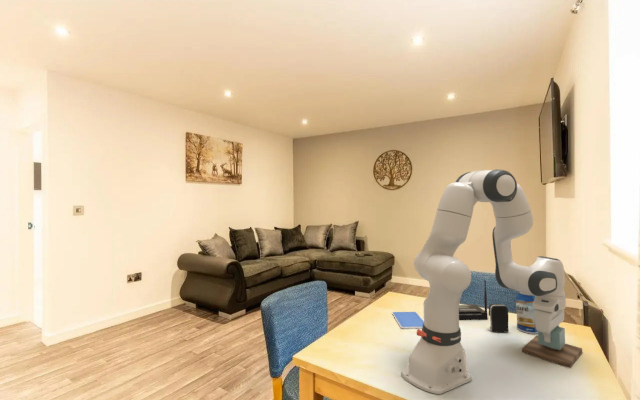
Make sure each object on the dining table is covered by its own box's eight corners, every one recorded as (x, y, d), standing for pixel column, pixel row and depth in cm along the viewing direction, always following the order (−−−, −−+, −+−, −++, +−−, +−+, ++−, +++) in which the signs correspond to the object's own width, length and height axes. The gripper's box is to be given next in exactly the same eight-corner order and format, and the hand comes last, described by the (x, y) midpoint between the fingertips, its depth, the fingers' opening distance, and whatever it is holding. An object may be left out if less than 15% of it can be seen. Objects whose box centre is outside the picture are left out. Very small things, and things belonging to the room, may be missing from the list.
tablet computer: (391, 314, 152) (391, 311, 152) (416, 313, 151) (416, 311, 151) (401, 330, 132) (401, 327, 132) (429, 329, 132) (429, 326, 132)
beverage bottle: (545, 334, 124) (544, 286, 124) (524, 334, 124) (523, 286, 124) (531, 326, 132) (530, 280, 132) (512, 326, 132) (511, 281, 132)
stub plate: (570, 368, 99) (569, 353, 99) (521, 352, 110) (521, 338, 110) (582, 352, 109) (581, 338, 109) (536, 339, 120) (536, 326, 120)
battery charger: (504, 329, 130) (503, 302, 130) (509, 332, 126) (508, 305, 126) (487, 328, 130) (487, 302, 130) (492, 332, 127) (491, 305, 127)
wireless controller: (455, 322, 139) (453, 285, 139) (443, 311, 153) (442, 278, 153) (498, 322, 138) (497, 285, 138) (482, 311, 152) (481, 277, 152)
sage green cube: (559, 350, 105) (559, 333, 105) (538, 343, 110) (537, 327, 110) (565, 344, 109) (564, 328, 109) (544, 338, 114) (543, 322, 114)
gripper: (548, 293, 118) (549, 327, 118) (530, 304, 106) (531, 343, 106) (568, 296, 113) (570, 333, 113) (552, 309, 101) (553, 350, 101)
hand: (551, 338), depth 109 cm, fingers closed on sage green cube, 6 cm apart
